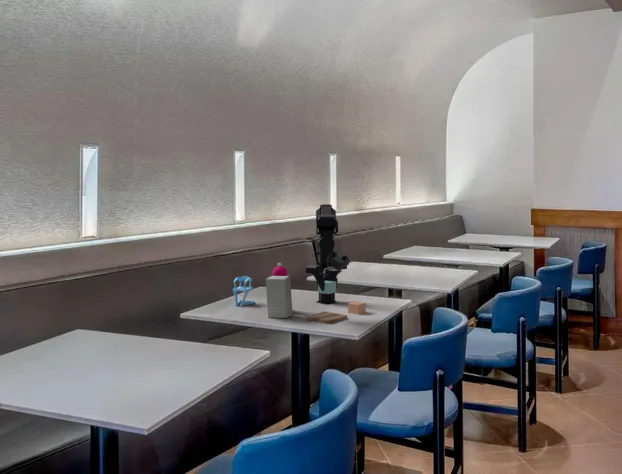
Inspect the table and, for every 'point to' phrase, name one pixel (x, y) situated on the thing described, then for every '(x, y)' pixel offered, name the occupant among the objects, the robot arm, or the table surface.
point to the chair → (243, 289)
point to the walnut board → (327, 317)
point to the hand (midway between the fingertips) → (327, 289)
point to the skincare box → (279, 296)
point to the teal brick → (328, 287)
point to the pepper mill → (279, 270)
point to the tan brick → (356, 307)
